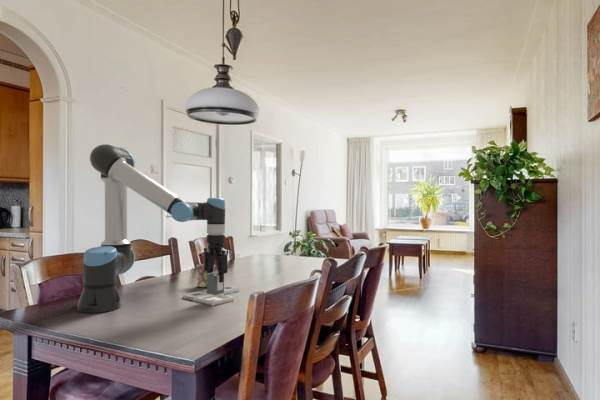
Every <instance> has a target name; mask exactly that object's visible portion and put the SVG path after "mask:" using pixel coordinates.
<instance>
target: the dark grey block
mask: <svg viewBox="0 0 600 400" xmlns="http://www.w3.org/2000/svg"><path fill="white" fill-rule="evenodd" d="M217 274H218V272H214V273H213V274H207V288H206V290H207V294H212V295H218V294H222V293H224V286H225V280H224V281H223V290H219V291H217Z"/></svg>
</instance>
